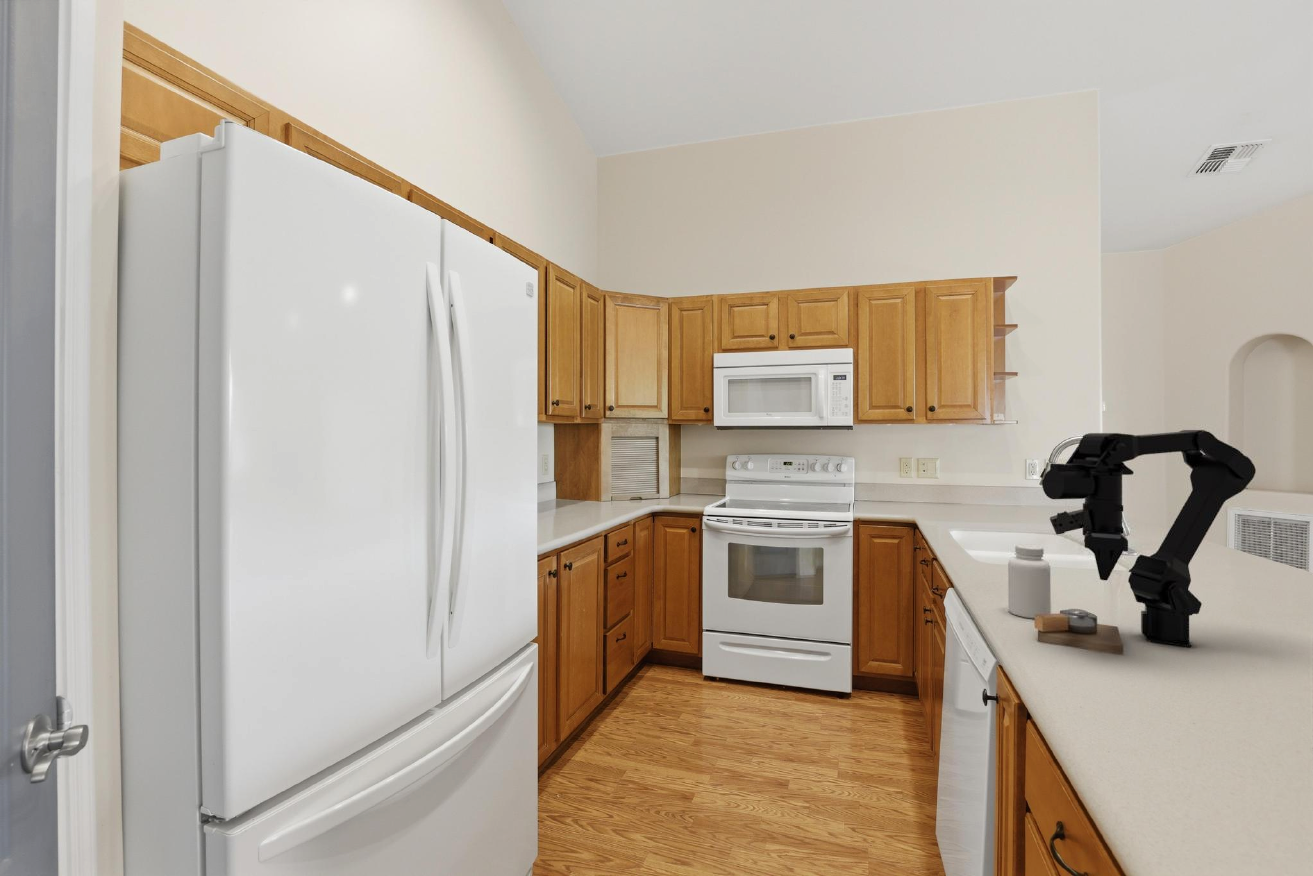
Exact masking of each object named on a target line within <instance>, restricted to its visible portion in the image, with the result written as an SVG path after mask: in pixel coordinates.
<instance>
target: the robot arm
mask: <svg viewBox="0 0 1313 876" xmlns="http://www.w3.org/2000/svg"><path fill="white" fill-rule="evenodd" d="M1177 452H1178V453H1179V452H1181V454H1182V459H1183V462H1184V463H1185V464H1186V465H1187V466H1188V467H1189V468H1191V469H1192V470H1191V472H1190V475H1189V480H1190V483H1191V489H1192V490H1191V492H1190V494H1189V496H1188V498H1187V499H1186V501H1185V503H1184V504H1183V506H1182V508H1181V509H1180V511H1179V513H1178V515H1177V516H1176V518H1175V520H1174V522H1173V524H1172V525H1171V527H1170V529H1169V531H1168V532H1167V534H1166V535H1165V537H1164V539H1163V541H1162V542H1161V545H1160V546H1159V547H1158V550H1156V552H1154V553H1153V554H1151V555H1150V556H1149V555H1144V554H1139V555H1138V556H1137V557H1136V560H1135V562H1134V565H1133V566H1132V567H1131V568H1130V569H1129V570H1128V573H1130V574H1129V576H1128V582H1127V583H1128V584H1129V588H1130V589H1131V591H1132V593H1133V596H1134V599H1135V602H1137V603H1140V604H1143V605H1144V610H1141V611H1140V632H1141V634H1142V635H1143V636H1144V637H1145V640H1146V641H1148V642H1153V643H1154V642H1155V643H1161V644H1168V645H1176V646H1181V647H1187V648H1188V647H1189V648H1191V647H1192V643H1191V641H1190V616H1193V615H1198V614H1199V613H1200V611H1201V608H1202V605H1203V604H1202V602H1201V601H1200V600H1199V599H1198V598H1197V597H1196V596H1195V595H1194V594H1193V593H1192V592H1191V591H1190V590H1189V587H1190V585H1191V581H1192V579H1191V578H1192V577H1191V573H1190V567H1189V565H1190V562H1191V561H1192V559H1194V558H1193V557H1194V556H1195V554H1196V552H1197V551H1198V549H1199V547H1200V545H1201V544H1202V542H1203V540H1204V538H1205V537H1206V535H1207V533H1208V532H1209V530H1210V528H1211V527H1212V524H1213V522H1214V521H1215V519H1216V517H1217V515H1218V514H1219V513H1220V511H1221V509H1222V507H1223V506H1224V504H1225V503H1226V501H1228V500H1230V499H1231V498H1233V497H1235V496H1236V495H1238V494H1240V493H1242V492H1243V491H1244V490H1245V489H1246V488H1247V487H1248V485H1249V484H1250V483H1251V481H1252V480H1253V479H1254V477H1255V475H1256V467H1255V465H1254V463H1253V461H1252V460H1251V458H1249V457H1248V456H1247V455H1245V454H1244V453H1243V452H1242V451H1240V450H1239V449H1238V448H1236V447H1234V446H1232V445H1229V444H1228V443H1226V442H1225V441H1221V440H1219V439H1218V438H1217V437H1216V436H1215V435H1214V434H1213V433H1212V432H1210V431H1207V430H1205V429H1182V430H1180V431H1173V432H1172V431H1171V432H1161V433H1150V434H1149V433H1147V434H1138V435H1137V434H1136V435H1135V434H1128V433H1121V432H1120V433H1119V432H1095V433H1094V432H1091V433H1090V432H1089V433H1086V434H1083V436H1082V438H1081V439H1080V440H1079V442H1078V445H1077V447H1076V448H1075V450H1074V451H1073V452H1072V454H1071V455H1070V457H1069V458H1068V459H1067V461H1066V463H1050V465H1049V469H1048V471H1046V473H1045V474H1044V475H1043V479H1042V480H1041V485H1042V486H1041V487H1042V491H1043V493H1044V494H1045V495H1046V497H1047V498H1049V499H1051V500H1083V499H1084V503H1082V509H1078V510H1072V511H1066V510H1064V511H1063V512H1057V514H1056V515H1053V516H1050V517H1049V521H1050V523H1051V525H1052V528H1053V530H1054V532H1055V535H1056V536H1057V535H1063V534H1065V533H1067V532H1071V531H1075V530H1079V529H1082V536H1084V539H1083V543H1084V544H1083V545H1084V548H1085V549H1088V550H1090V551H1091V552H1092V553H1093V554H1094V559H1095V563H1096V567H1097V572H1098V576H1099V579H1100V580H1101V581H1108V579H1110V578H1109V577H1110V576H1111V574H1112V572H1113V571H1114V568H1115V566H1116V565H1117V563H1118V561H1119V559H1121V556H1122V554H1123V552H1129V540H1128V538H1127V537H1126V536H1125V534H1124V527H1123V512H1124V505H1123V476H1131V475H1134V470H1132V469H1131V468H1130V467H1128V466H1127V465H1126V464H1125V462H1128V461H1132V460H1135V459H1136V458H1137V457H1140V456H1144V455H1145V456H1146V455H1157V454H1168V453H1177Z"/></svg>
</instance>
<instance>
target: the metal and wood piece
mask: <svg viewBox="0 0 1313 876" xmlns="http://www.w3.org/2000/svg"><path fill="white" fill-rule="evenodd" d="M1097 624H1098V615H1097V614H1095V613H1093V612H1092V613H1091V612H1090V611H1087V610H1084V609H1081V608H1080V609H1079V608H1069V609H1062V610H1060V611H1059V613H1051V614H1040V615H1035V618H1034V629H1036V630H1037V631H1038V630H1041V631H1058V630H1068V631H1072V632H1077V633H1085V634H1093V633H1097Z"/></svg>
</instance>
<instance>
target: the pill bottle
mask: <svg viewBox="0 0 1313 876" xmlns="http://www.w3.org/2000/svg"><path fill="white" fill-rule="evenodd" d="M1014 549H1015V551H1014V552H1015V553H1014V555H1015V556H1014V557H1011V558H1009V561H1008V562H1007V573H1008V574H1007V575H1008V576H1007V577H1008V579H1007V580H1008V581H1007V582H1008V583H1007V586H1008V589H1007V591H1008V594H1007V595H1008V597H1007V598H1008V611H1009V613H1011V614H1012V615H1015V616H1018V617H1021V618H1027V619H1035V615H1040V614H1052V613H1051V611H1052V609H1051V607H1052V606H1051V605H1052V602H1051V600H1052V599H1051V587H1052V586H1051V565H1050V564H1049V562H1048V561H1047V560H1046V559H1044V558H1043V557H1044V547H1043V546H1039V545H1033V544H1031V545H1030V544H1017V545H1015V546H1014Z"/></svg>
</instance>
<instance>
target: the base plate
mask: <svg viewBox="0 0 1313 876" xmlns="http://www.w3.org/2000/svg"><path fill="white" fill-rule="evenodd" d="M1122 641H1123V640H1122V638H1121V635H1120V630H1119V627H1118V626H1115V625H1109V624H1100V623H1097V633H1093V634H1085V633H1077V632H1072V631H1068V630H1058V631H1041V630H1038V629H1037V642H1041V643H1047V644H1048V643H1049V644H1053V645H1060V646H1065V647H1072V648H1077V649H1078V648H1079V649H1083V650H1091V651H1095V652H1096V651H1097V652H1102V653H1103V652H1104V653H1111V654H1116V655H1120V656H1124V645H1123V642H1122Z"/></svg>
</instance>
